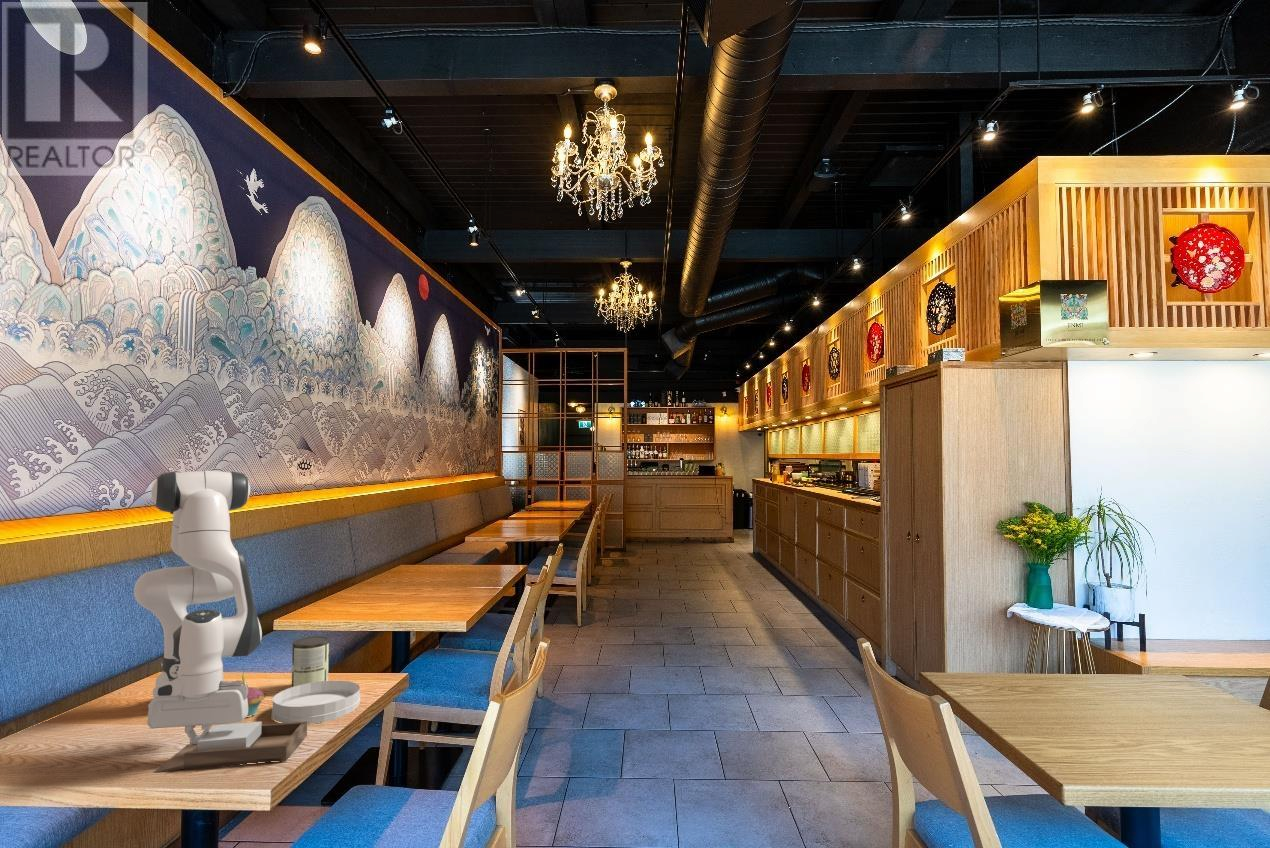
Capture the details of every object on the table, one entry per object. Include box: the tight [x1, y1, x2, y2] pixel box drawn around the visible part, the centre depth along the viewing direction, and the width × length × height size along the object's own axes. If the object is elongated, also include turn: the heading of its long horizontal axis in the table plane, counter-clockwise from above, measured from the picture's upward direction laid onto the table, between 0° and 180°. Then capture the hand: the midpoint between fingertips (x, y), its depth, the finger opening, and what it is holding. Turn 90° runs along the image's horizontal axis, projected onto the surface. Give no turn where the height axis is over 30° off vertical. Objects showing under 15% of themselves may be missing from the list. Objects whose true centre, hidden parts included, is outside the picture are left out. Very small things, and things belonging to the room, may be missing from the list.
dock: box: [153, 721, 308, 773], centre depth 154 cm, size 15×27×4 cm, turn 100°
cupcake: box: [241, 671, 265, 716], centre depth 179 cm, size 9×8×12 cm
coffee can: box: [291, 635, 330, 687], centre depth 202 cm, size 10×10×14 cm
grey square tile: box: [197, 721, 263, 751], centre depth 154 cm, size 10×10×4 cm
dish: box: [271, 680, 361, 724], centre depth 182 cm, size 22×22×5 cm
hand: (198, 744), depth 153 cm, fingers closed
